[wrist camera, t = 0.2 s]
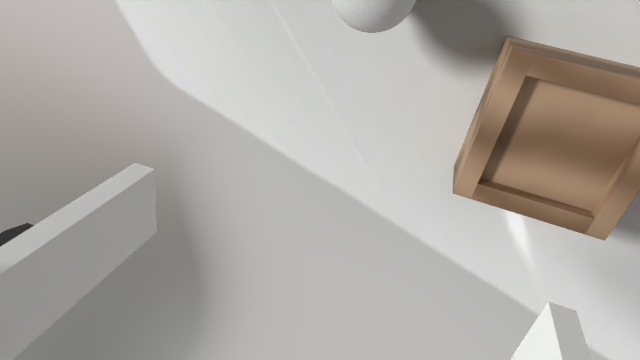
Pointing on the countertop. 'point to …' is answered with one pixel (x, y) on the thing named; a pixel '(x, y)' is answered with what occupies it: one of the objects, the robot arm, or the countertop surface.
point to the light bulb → (373, 13)
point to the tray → (555, 138)
